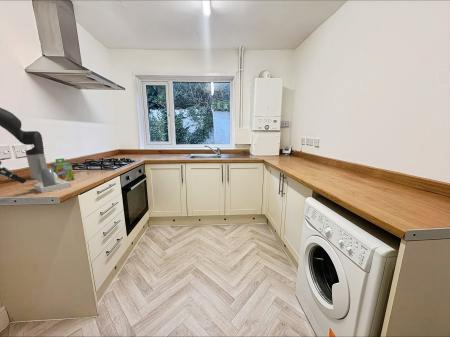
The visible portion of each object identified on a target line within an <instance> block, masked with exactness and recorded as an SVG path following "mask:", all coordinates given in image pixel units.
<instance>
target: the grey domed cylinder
mask: <svg viewBox="0 0 450 337" xmlns="http://www.w3.org/2000/svg"><path fill="white" fill-rule="evenodd" d="M40 174H41V179H42V183H43V187H48V186H53V185H56V183H55V178H54V173H53V168H51V167H47V168H46V169H40Z"/></svg>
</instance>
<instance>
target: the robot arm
mask: <svg viewBox="0 0 450 337" xmlns="http://www.w3.org/2000/svg"><path fill="white" fill-rule="evenodd" d="M0 127H1V128H3V129H4V130H6V131H7V132H8V133H10V134H11V135H12V136H13V137H14V138H16V139H17V140H18V141H19V143H21V144H22V145H26V146H28V145H29V146H31V145H33V147H32V148H30V149H26V151H25V155H26V159H27V163H28V168H29V174H30V177H31V180H38V175H39V174H40V169H46V168H48V166H47V165H48V164H47V161H46V157H45V156H46V155H45V149H44V142H43V136H42V134H41V132H39V131H37V130H33V131H32V130H30V131H29V130H27V131H26V130H25V131H24V130H22V127H23V126H22V121H21V120H20V119H19V118H18V116H16V115H15V114H14V113H13V112H11V111H9V110H7V109H5V108H2V107H0ZM2 163H3V162H2V161H1V160H0V166H1V165H2ZM0 176H1V177H4V178H7V179H10V180H13V181H17V182H19V183H21V184H24V183H26V182H27V179H25V178H23V177H21V176H19V175H18V174H17V173H16V174H15V172H14V171H11V170H9V168H6V167H5V166H3V167H0Z"/></svg>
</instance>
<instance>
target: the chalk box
mask: <svg viewBox="0 0 450 337" xmlns="http://www.w3.org/2000/svg"><path fill="white" fill-rule="evenodd" d="M59 161H61V162H59ZM50 168H53V172H55V173H56V174H57V176H58V178H60V179H62V180H65V181H68V182H71V181H74V180H75V176H74V170H73V164H72V163H70V162H66V161H65V159H64V158H63V157H62V158H56V159H55V163H51V164H50Z"/></svg>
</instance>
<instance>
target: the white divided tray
mask: <svg viewBox="0 0 450 337" xmlns="http://www.w3.org/2000/svg"><path fill="white" fill-rule="evenodd" d="M53 173H54V178H55V183H56V185H53V186H48V187H43V183H42V179H41V174H39V175H38V179H37V181H36V182H35V183H33V189H34V190H35V191H37V192H39V193H41V194H45V193H49V191H50V192H53V191H54V192H55V191H59V190H64V189H68V188H71V187H72V185H71V184H72V183H71V181H65V180H62V179H60V178H58V176H57V174H56V173H55V172H53Z"/></svg>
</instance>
